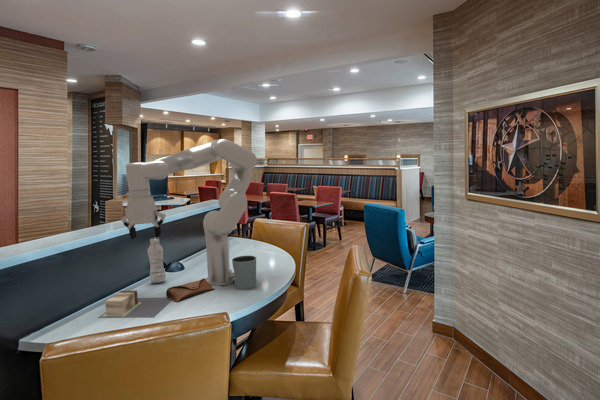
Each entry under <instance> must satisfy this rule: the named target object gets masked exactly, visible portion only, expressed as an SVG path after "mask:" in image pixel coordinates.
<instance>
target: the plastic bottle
mask: <svg viewBox="0 0 600 400" xmlns="http://www.w3.org/2000/svg"><path fill="white" fill-rule="evenodd" d="M149 244H150V245H149V246H148V248H147V255H148V259H149V266H150V267H149V281H150V282H151V283H152V284H161V283H163V282H165V280H166V276H167V275H166V272H165V268H164V248H163V247H162V245H161V244H160V237H152V238H150V239H149Z"/></svg>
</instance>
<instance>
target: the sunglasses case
mask: <svg viewBox="0 0 600 400" xmlns="http://www.w3.org/2000/svg"><path fill="white" fill-rule="evenodd" d="M214 290H215V288H214V287H213V286H211V285H210V284H209V283H208V282H207V281H206V278H201V279H198V280H196V281H191V282H187V283H184V284H179V285H175V286H171V287H168V288H167V289H166V292H165V295H166V297H167V298H168V299H170V300H172V301H171V302H180V301H183V300H186V299H189V298H192V297H196V296H200V295H203V294H205V293H208V292H213V291H214Z"/></svg>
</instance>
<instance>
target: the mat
mask: <svg viewBox="0 0 600 400" xmlns="http://www.w3.org/2000/svg"><path fill="white" fill-rule="evenodd" d="M171 302H173V301H172V300H170V299H168V298H167V296H166V297H165V296H163V297H138V304H137V305H136V306H134V307H133V308H132V309H130V310H129V311H128V312H126V313H125V314H124V315H107V313H106V311H105V312H104V313H102V314H101V315H100V316H98V317H97V318H98V319H129V318H130V319H138V318H139V319H144V318H147V319H148V318H155V317H156V316H157V315H158V314H160V312H161V311H163V310H164V309H165V308H166V307H167V306H168V305H169V304H171Z"/></svg>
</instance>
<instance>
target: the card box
mask: <svg viewBox="0 0 600 400" xmlns="http://www.w3.org/2000/svg"><path fill="white" fill-rule="evenodd" d="M138 298H139V297H138V290H120V291H119V292H118V293H116V294H115V295H113V296H111V297H109V299H107V300H105V302H104V303H105V312H106V313H107V315H124V314H125V313H126V312H128V311H129V310H130V309H132V308H133V307H134V306H136V305H137V304H138Z"/></svg>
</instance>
